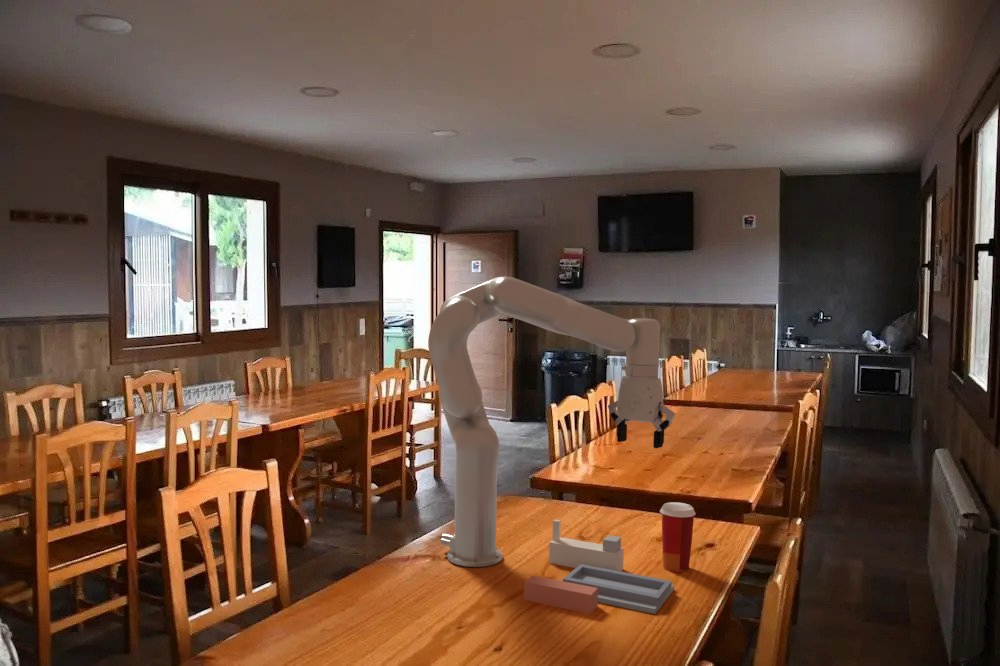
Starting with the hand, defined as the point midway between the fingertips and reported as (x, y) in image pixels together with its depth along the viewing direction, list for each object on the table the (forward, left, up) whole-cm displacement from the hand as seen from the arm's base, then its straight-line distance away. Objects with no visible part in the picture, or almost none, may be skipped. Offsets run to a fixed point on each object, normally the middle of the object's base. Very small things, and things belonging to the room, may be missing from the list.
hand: (639, 444), depth 187 cm
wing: (-4, -36, -26) cm, 45 cm away
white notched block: (-7, -14, -26) cm, 31 cm away
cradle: (+4, -25, -26) cm, 36 cm away
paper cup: (+11, -5, -26) cm, 29 cm away
